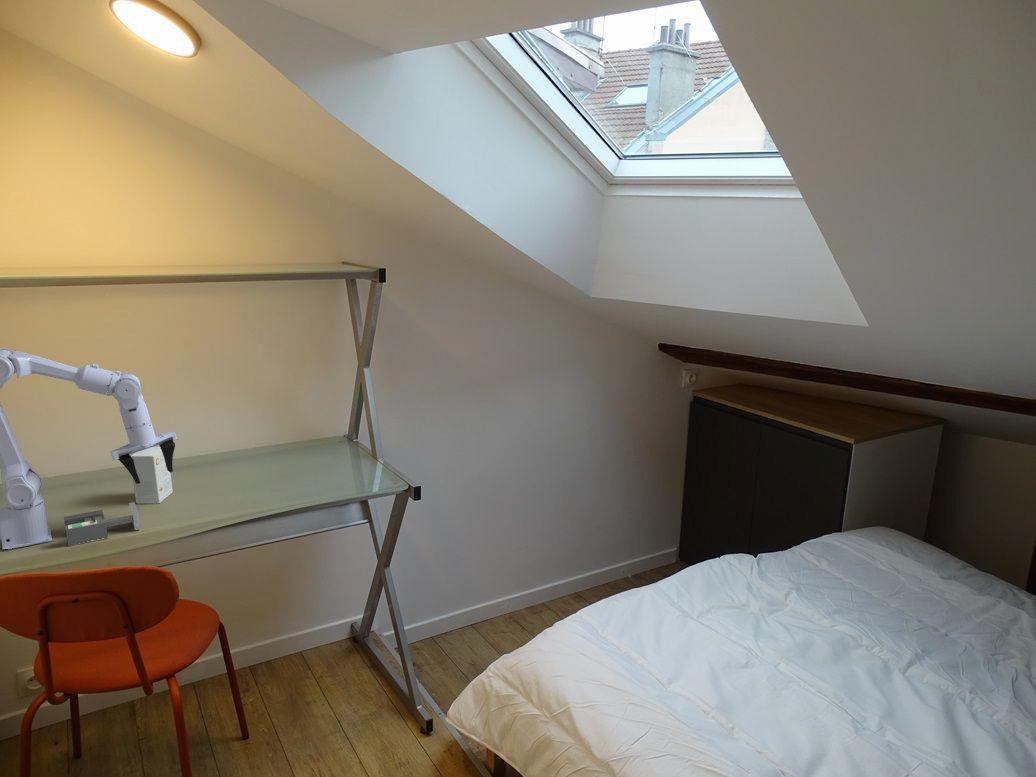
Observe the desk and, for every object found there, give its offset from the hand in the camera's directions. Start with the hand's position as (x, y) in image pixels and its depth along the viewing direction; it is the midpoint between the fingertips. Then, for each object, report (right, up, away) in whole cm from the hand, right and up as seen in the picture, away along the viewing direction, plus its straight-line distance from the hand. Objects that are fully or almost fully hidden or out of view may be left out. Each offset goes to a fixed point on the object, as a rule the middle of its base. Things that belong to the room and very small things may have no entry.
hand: (154, 476), depth 187 cm
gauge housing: (-13, -13, -6) cm, 19 cm away
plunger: (-8, -12, -3) cm, 15 cm away
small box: (-8, -8, +17) cm, 21 cm away
